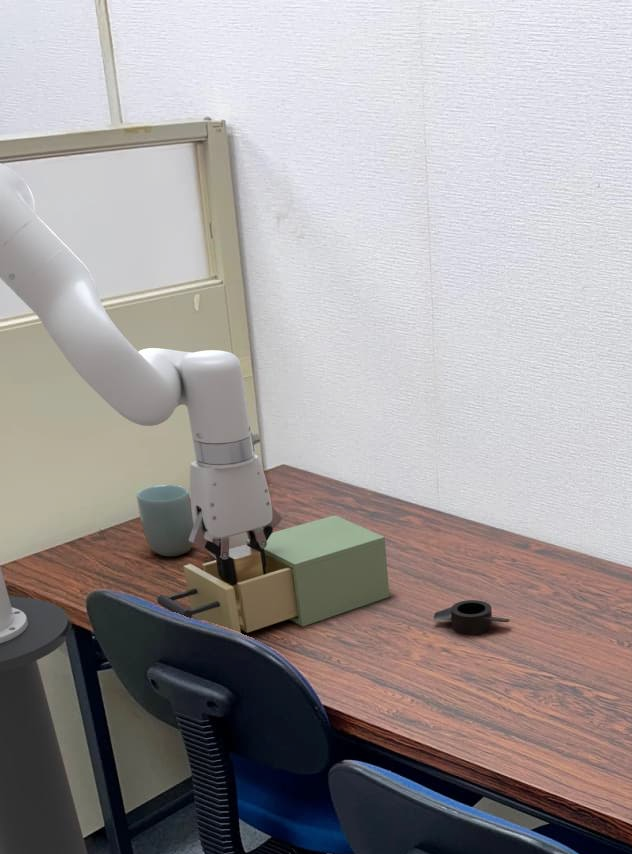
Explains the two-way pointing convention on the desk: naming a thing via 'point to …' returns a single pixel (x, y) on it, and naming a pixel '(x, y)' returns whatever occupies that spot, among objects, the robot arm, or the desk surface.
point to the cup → (166, 519)
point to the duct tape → (469, 617)
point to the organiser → (331, 566)
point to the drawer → (237, 597)
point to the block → (246, 562)
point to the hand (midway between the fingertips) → (243, 576)
